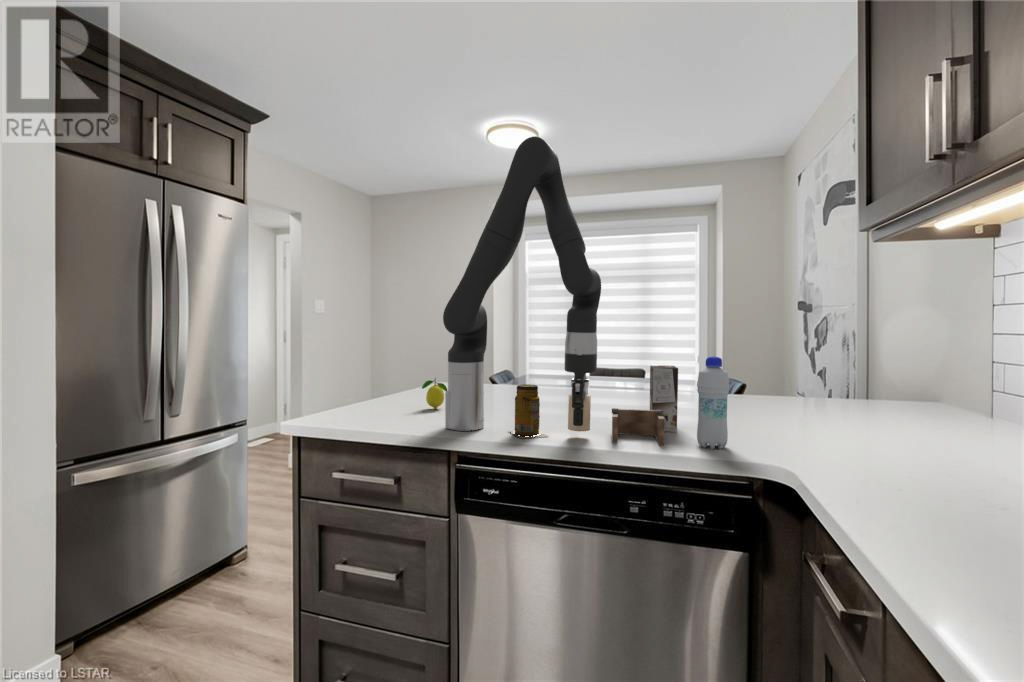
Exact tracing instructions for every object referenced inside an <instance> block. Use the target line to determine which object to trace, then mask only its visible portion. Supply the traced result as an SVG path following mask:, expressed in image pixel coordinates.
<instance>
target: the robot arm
mask: <svg viewBox="0 0 1024 682" xmlns="http://www.w3.org/2000/svg"><path fill="white" fill-rule="evenodd" d="M510 163H511V164H510V167H509V169H508V171H507V172H508V173H507V176H506V179H505V181H504V184H503V187H502V190H501V192H500V194H499V196H498V198H497V200H496V202H495V205H494V207H493V209H492V211H491V214H490V217H489V218H488V220H487V223H486V224H485V226H484V229H483V230H482V233H481V235H480V237H479V239H478V242H477V244H476V247H475V249H474V251H473V254H472V255H471V258H470V260H469V262H468V264H467V267H466V269H465V272H464V274H463V276H462V277H461V280H460V281H459V282H458V285H457V287H456V288H455V290H454V292H453V293H452V295H451V297H450V298H449V300H448V302H447V304H446V306H445V308H444V310H443V314H442V321H443V326H444V327H445V329H446V331H447V332H448V333H450V334H452V335H453V338H454V339H453V344H452V346H451V348H450V349H449V350H448V352H447V391H445V393H444V399H445V400H444V402H445V408H444V409H445V419H444V420H445V423H444V424H445V425H444V426H445V429H447V430H451V431H462V432H466V431H467V432H469V431H471V430H472V431H478V429H479V430H482V429H484V425H485V423H484V422H485V417H484V416H485V414H484V413H485V407H484V406H485V405H484V404H485V403H484V402H485V398H484V396H485V392H484V391H485V390H484V389H485V388H484V386H485V369H484V368H485V366H484V365H485V364H484V363H485V362H484V360H485V358H484V357H485V353H486V351H487V342H488V341H487V340H488V315H487V311H486V308H485V307H484V305H483V300H484V299H485V297H486V294H487V292H488V291H489V288H490V287H491V285H492V284H493V283H494V282H495V281H496V279H497V278H498V277H499V276H500V275H501V274H502V273H503V271H504V270H505V269H506V267H507V266H508V264H509V263H510V261H511V260H512V258H513V256H514V254H515V252H516V249H517V248H518V246H519V243H520V241H521V239H522V235H523V232H524V226H525V220H526V212H527V207H528V203H529V199H530V197H531V195H532V192H533V191H534V189H535V190H536V192H537V194H538V196H539V198H540V199H541V203H542V206H543V209H544V214H545V220H546V221H545V222H546V226H547V230H548V234H549V237H550V240H551V243H552V246H553V248H554V250H555V254H556V256H557V258H558V267H559V270H560V277H561V279H562V282H563V286H564V287H565V289H566V290H567V292H568V293H569V294H570V295H571V296H572V302H571V307H570V308H569V309H568V311H567V313H566V314H567V315H566V333H565V334H566V335H565V342H564V371H565V372H567V373H573V374H574V378H572V379H571V380H570V387H571V393H570V394H571V398H572V408H573V409H574V410H573V425H574V426H582V425H583V410H584V401H585V400H586V396H587V395H589V386H590V385H589V384H590V379H589V378H588V377H587V374H592V373H596V372H597V367H598V366H597V363H598V336H597V335H598V334H597V330H598V329H597V325H598V322H597V321H598V318H597V317H598V315H597V314H598V310H599V304H600V300H601V294H602V293H601V292H602V280H601V276H600V274H599V273H598V271H596V270H595V269H594V268H592V267H590V266H589V263H588V260H587V258H586V255H585V253H586V243H585V241H584V238H583V235H582V233H581V231H580V227H579V225H578V223H577V220H576V216H575V215H574V212H573V211H572V208H571V204H570V202H569V200H568V197H567V193H566V189H565V186H564V181H563V176H562V170H561V165H560V160H559V156H558V154H557V153H556V151H555V149H553V147H552V146H551V145H550V144H549V143H548V142H547V141H546V140H545V139H543V138H542V137H540V136H537V135H536V136H534V135H532V136H529V137H528V138H525V139H524V140H523V141H522V142H521V143H520V144H519V146H518V147H517V149H516V150H515V153H514V156H513V158H512V161H511V162H510ZM576 399H580V400H581V403H575V402H576Z"/></svg>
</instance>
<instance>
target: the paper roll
mask: <svg viewBox="0 0 1024 682" xmlns="http://www.w3.org/2000/svg"><path fill="white" fill-rule="evenodd" d="M591 401H592V395H590V394H588V395H587V396H586V400H585V401H584V410H583V425H582V426H574V425H573V410H574V409H573V408H572V398H571V393H570V394H568V406H567V407H568V409H567V410H568V411H567V413H568V414H567V415H568V416H567V417H568V418H567V430H569V431H573V432H588V431H590V430H591V408H592V407H591V406H592V405H591V404H592V403H591ZM575 403H581V400H580V399H576V402H575Z"/></svg>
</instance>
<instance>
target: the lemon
mask: <svg viewBox="0 0 1024 682" xmlns="http://www.w3.org/2000/svg"><path fill="white" fill-rule="evenodd" d="M436 381H437V380H436V377H434V379H433V380H426V381H425V382H424V383H423V385H422V387H421V389H425V388H427V387H429V386H430V387H429V388H428V390H427V392H426V397H425V398H426V403H427V405H428V406H430V407H431V408H433V409H434V410H436V409H438V408H439V407H440V406H442V404H444V402H445V400H444V399H445V393H444V391H445V392H446V391H448V387H447V386H446V385H445V384H444V383H441V382H436ZM433 382H434V384H433ZM431 384H433V385H432V386H431Z"/></svg>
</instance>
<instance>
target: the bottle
mask: <svg viewBox="0 0 1024 682" xmlns="http://www.w3.org/2000/svg"><path fill="white" fill-rule="evenodd" d="M722 367H723V360H722V358H721V357H719V356H708V357H707V358H706V359H705V368H703V369H701V370H699V371H698V377H697V381H696V387H697V389H696V391H697V393H698V408H697V409H698V412H697V413H698V414H697V415H698V417H697V418H698V420H697V428H696V429H697V430H696V439H697V442H698V445H699V446H701V447H703V448H707V447H708V444H709V447H710V449H713V450H714V449H715V448H716V445H717V449H718V448H719V450H720V449H722V448H725V447H726V445H727V444H728V394H729V393H730V391H729V390H730V380H729V373H728V371H727V370H725V369H723V368H722Z"/></svg>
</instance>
